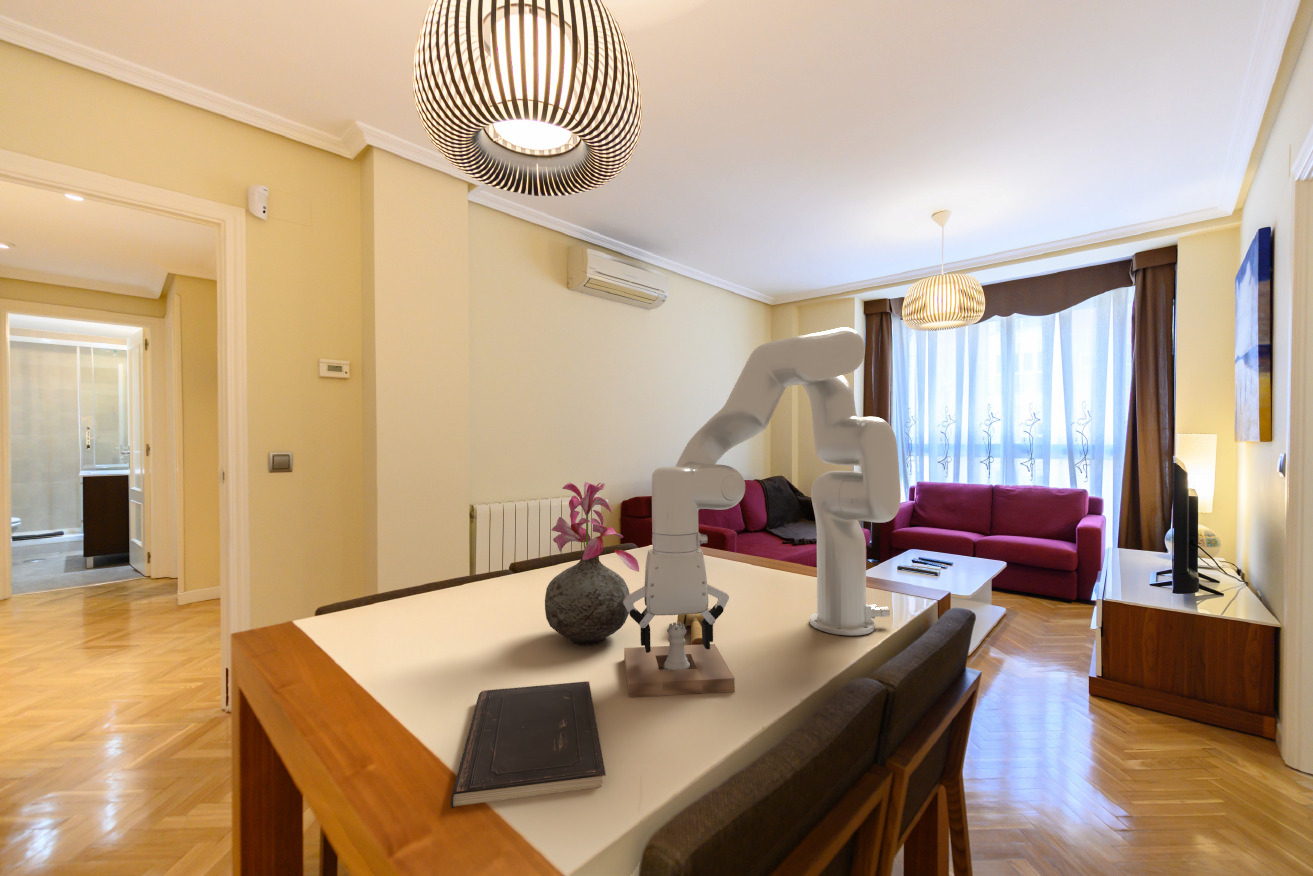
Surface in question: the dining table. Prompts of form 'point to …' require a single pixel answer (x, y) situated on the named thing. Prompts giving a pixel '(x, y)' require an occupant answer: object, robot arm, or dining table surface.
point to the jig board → (676, 672)
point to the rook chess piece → (676, 648)
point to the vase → (587, 578)
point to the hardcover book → (530, 744)
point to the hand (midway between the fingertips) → (676, 648)
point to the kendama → (693, 626)
